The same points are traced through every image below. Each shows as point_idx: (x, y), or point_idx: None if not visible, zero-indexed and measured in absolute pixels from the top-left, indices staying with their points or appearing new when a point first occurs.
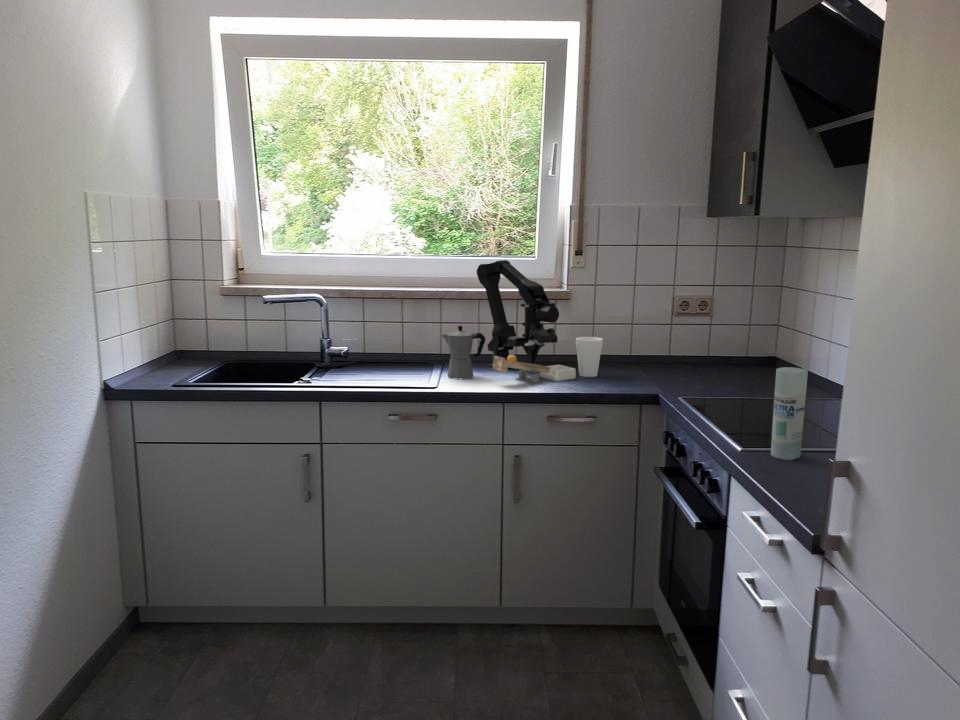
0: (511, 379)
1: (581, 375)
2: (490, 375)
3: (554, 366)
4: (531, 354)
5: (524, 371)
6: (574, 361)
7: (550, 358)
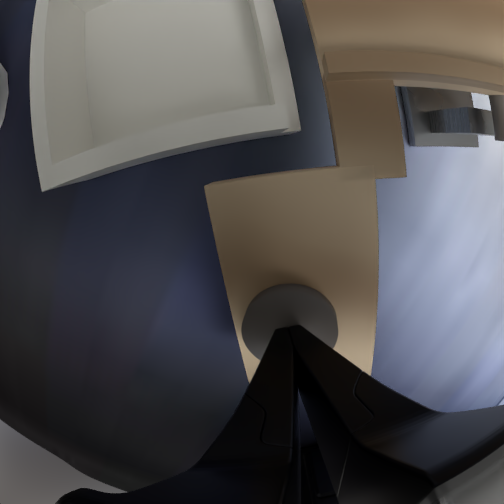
0: (483, 166)
1: (6, 87)
2: (487, 311)
3: (102, 146)
4: (367, 377)
5: (473, 108)
6: (5, 407)
7: (78, 469)
